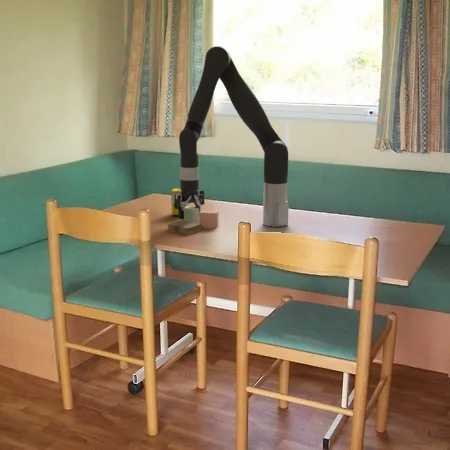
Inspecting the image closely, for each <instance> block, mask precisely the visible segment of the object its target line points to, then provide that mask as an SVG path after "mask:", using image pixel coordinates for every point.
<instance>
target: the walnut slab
mask: <svg viewBox="0 0 450 450" xmlns="http://www.w3.org/2000/svg"><path fill="white" fill-rule="evenodd" d="M200 231H202V227H201V224H199V223H194V222H188V221H183V220H181V219H179V220H177V221H174V222H171V223H168V224H167V232H173V233H177V234H181V235H187V236H189V235H192V234H196V233H198V232H200Z"/></svg>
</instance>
